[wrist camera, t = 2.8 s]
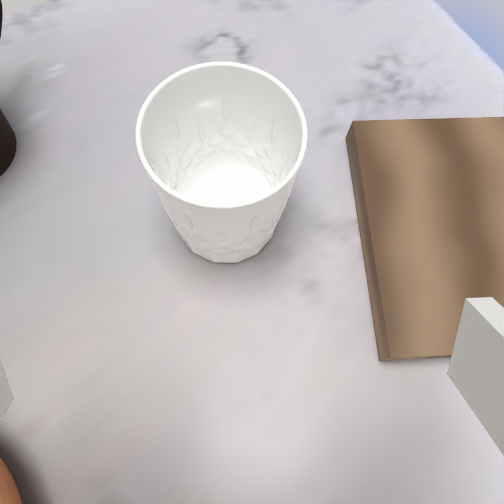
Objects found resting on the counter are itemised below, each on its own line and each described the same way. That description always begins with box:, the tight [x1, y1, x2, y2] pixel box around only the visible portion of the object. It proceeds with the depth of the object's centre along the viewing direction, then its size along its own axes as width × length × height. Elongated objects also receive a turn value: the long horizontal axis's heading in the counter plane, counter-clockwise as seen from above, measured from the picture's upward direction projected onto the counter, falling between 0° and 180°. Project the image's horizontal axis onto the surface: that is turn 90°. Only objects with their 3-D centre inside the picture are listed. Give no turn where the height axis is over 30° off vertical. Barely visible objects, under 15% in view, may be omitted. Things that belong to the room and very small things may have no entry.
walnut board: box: [346, 117, 504, 361], centre depth 28 cm, size 12×16×2 cm
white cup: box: [135, 62, 308, 263], centre depth 24 cm, size 8×8×10 cm
